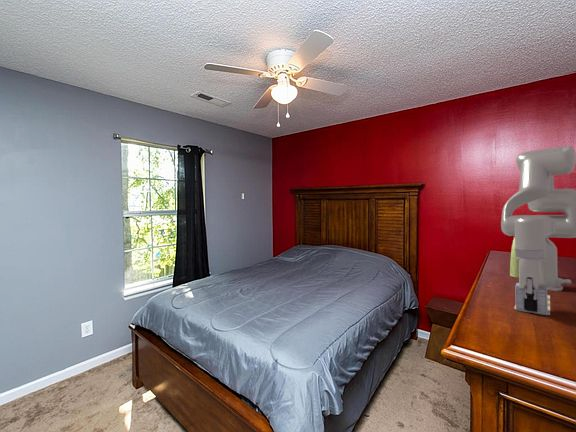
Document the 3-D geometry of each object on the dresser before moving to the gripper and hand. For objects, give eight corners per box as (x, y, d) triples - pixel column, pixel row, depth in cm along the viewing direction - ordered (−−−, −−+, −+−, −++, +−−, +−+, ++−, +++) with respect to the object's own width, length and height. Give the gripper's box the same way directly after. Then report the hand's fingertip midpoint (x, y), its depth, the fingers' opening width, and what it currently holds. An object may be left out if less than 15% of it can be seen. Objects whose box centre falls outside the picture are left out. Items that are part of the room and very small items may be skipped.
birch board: (519, 294, 112) (519, 291, 112) (550, 299, 105) (550, 295, 105) (514, 312, 94) (514, 308, 94) (550, 319, 88) (550, 314, 88)
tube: (526, 277, 135) (526, 238, 134) (518, 278, 133) (517, 239, 133) (514, 275, 140) (514, 237, 140) (507, 276, 139) (506, 237, 138)
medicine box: (547, 312, 90) (547, 286, 90) (547, 316, 87) (547, 289, 87) (516, 306, 96) (516, 282, 95) (515, 310, 92) (515, 285, 92)
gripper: (517, 249, 99) (518, 299, 100) (512, 257, 87) (514, 313, 88) (545, 251, 94) (546, 303, 95) (545, 259, 82) (546, 319, 83)
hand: (531, 307), depth 91 cm, fingers closed on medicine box, 4 cm apart
